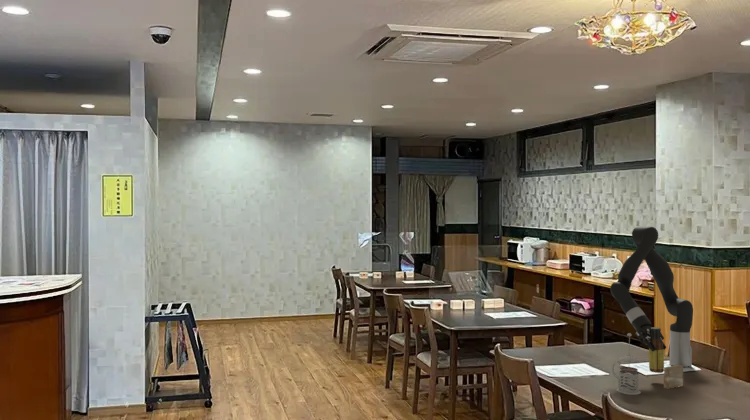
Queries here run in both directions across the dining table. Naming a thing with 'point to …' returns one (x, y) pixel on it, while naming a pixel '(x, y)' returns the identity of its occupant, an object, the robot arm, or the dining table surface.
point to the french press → (628, 375)
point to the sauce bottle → (656, 352)
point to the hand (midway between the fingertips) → (659, 349)
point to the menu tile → (673, 376)
